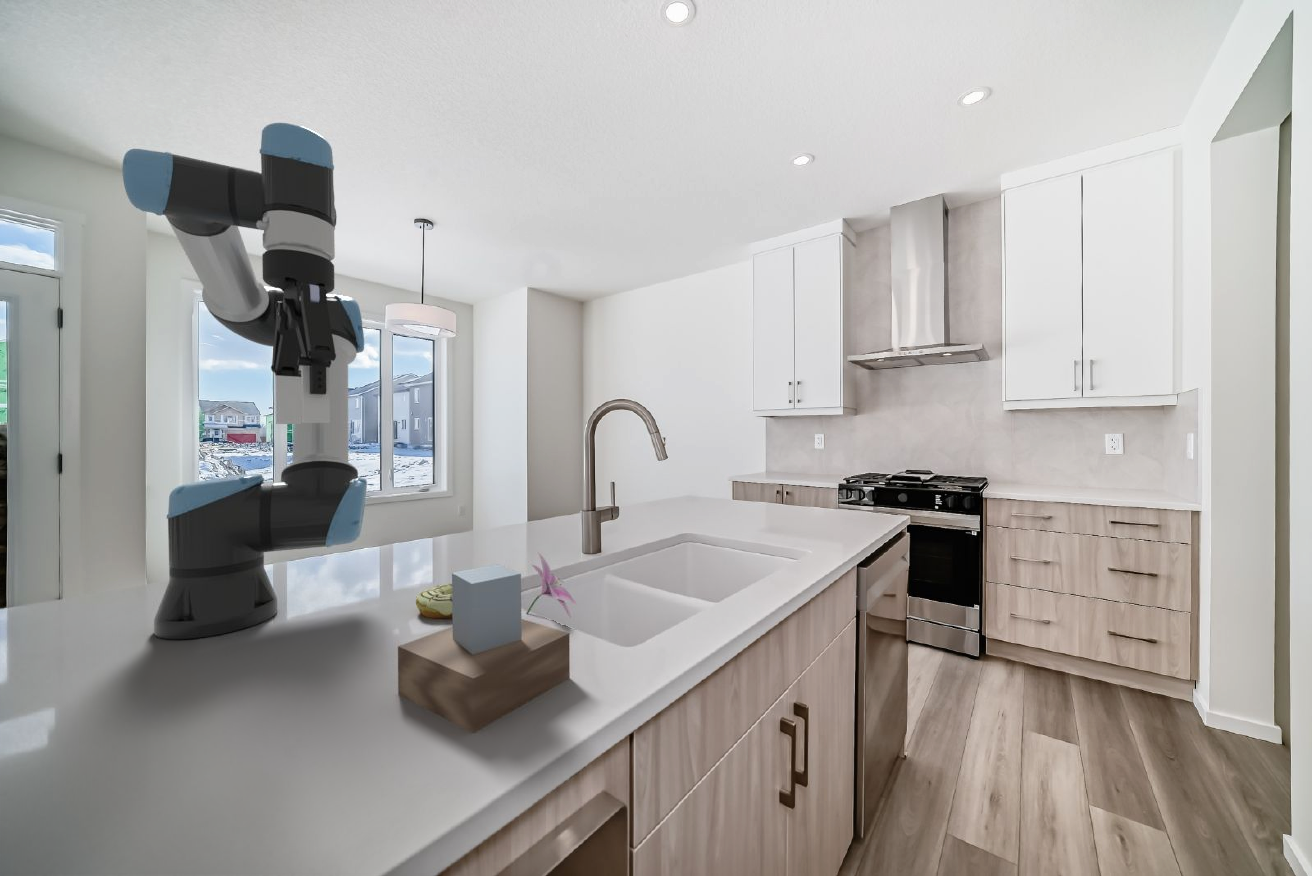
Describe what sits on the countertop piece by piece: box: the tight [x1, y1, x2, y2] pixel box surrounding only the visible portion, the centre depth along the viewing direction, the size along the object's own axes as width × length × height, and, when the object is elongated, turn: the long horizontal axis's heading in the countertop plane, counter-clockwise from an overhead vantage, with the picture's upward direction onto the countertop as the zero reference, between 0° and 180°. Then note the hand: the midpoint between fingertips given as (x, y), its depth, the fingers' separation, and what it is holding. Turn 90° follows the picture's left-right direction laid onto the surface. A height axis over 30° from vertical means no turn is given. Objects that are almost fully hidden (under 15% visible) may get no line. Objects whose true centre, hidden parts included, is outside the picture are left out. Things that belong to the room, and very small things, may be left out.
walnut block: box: [397, 618, 571, 734], centre depth 62 cm, size 14×14×6 cm
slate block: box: [451, 563, 522, 654], centre depth 62 cm, size 6×6×8 cm
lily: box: [525, 550, 577, 619], centre depth 87 cm, size 12×12×10 cm
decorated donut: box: [415, 583, 452, 619], centre depth 88 cm, size 10×11×4 cm
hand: (301, 423), depth 66 cm, fingers open, 13 cm apart
